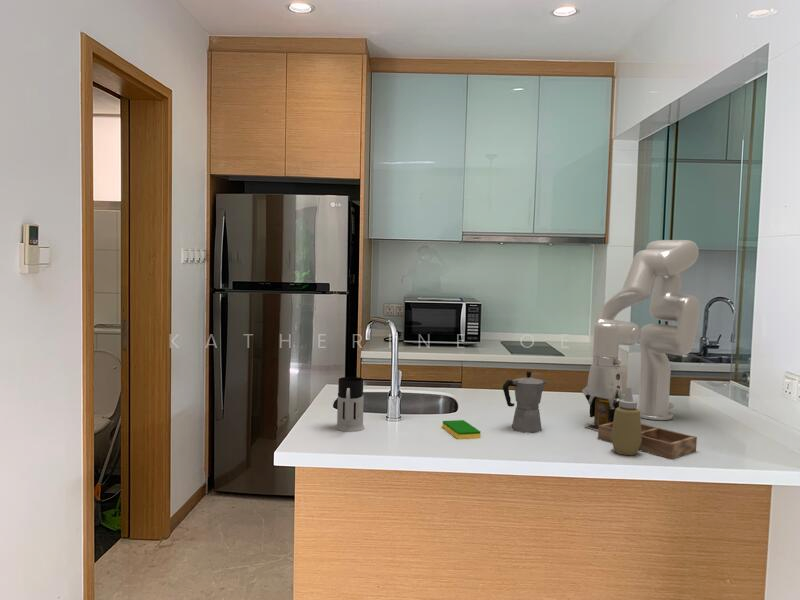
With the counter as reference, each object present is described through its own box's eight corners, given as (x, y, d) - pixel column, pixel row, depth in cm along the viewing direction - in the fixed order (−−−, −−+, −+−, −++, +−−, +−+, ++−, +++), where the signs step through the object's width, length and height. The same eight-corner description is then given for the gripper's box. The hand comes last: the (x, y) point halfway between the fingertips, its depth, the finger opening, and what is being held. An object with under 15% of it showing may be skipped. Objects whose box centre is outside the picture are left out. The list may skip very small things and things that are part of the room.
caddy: (623, 432, 199) (623, 419, 199) (696, 451, 181) (696, 437, 181) (597, 438, 191) (598, 425, 191) (671, 459, 173) (672, 444, 173)
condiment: (620, 429, 203) (621, 391, 202) (602, 432, 198) (603, 394, 197) (601, 423, 209) (603, 387, 208) (583, 427, 204) (585, 389, 203)
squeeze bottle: (605, 448, 182) (608, 384, 180) (633, 448, 182) (636, 385, 181) (617, 457, 174) (620, 390, 172) (646, 457, 174) (649, 391, 173)
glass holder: (365, 424, 201) (366, 376, 200) (361, 437, 187) (362, 386, 186) (337, 423, 201) (338, 376, 200) (331, 436, 187) (332, 385, 186)
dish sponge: (458, 440, 187) (458, 432, 187) (442, 428, 200) (442, 420, 200) (480, 439, 189) (481, 431, 189) (463, 427, 202) (463, 419, 202)
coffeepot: (536, 423, 207) (539, 368, 206) (553, 431, 198) (555, 373, 197) (494, 427, 202) (496, 369, 200) (509, 435, 193) (511, 375, 192)
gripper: (637, 365, 197) (634, 423, 198) (589, 357, 211) (586, 411, 212) (622, 367, 193) (619, 426, 194) (574, 359, 206) (572, 414, 207)
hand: (602, 418), depth 203 cm, fingers closed on condiment, 6 cm apart
